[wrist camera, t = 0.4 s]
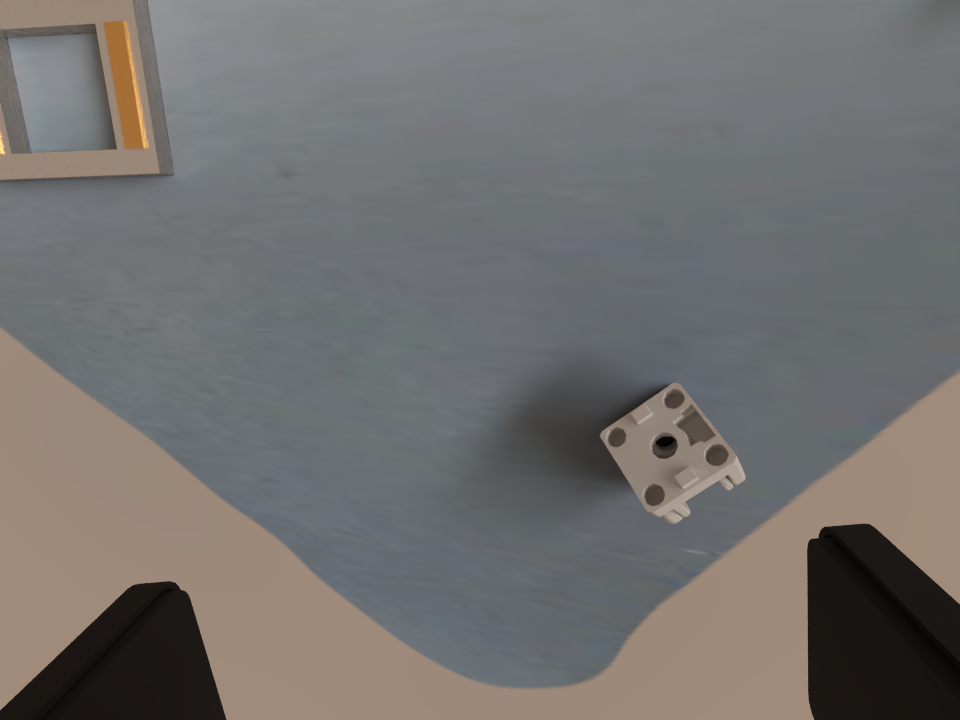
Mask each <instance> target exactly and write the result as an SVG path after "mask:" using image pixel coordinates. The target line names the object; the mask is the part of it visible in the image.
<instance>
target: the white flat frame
mask: <svg viewBox="0 0 960 720" xmlns="http://www.w3.org/2000/svg"><path fill="white" fill-rule="evenodd" d="M93 32H97V37H98V42H99V48H100V54H101V60H102V65H103V71H104V77H105V83H106V88H107V94H108V100H109V105H110V111H111V117H112V123H113V128H114V134H115V140H116V146H117V149H116V150H93V151H70V152H47V153H30V148H29V143H28V139H27V134H26V129H25V124H24V120H23V115H22V110H21V105H20V100H19V96H18V91H17V86H16V81H15V77H14V72H13V67H12V62H11V57H10V53H9V48H8V43H7V38H11V37H27V36H44V35H60V34H77V33H93ZM157 175H174V173H173V166H172V160H171V153H170V147H169V140H168V133H167V127H166V120H165V114H164V107H163V101H162V94H161V88H160V81H159V75H158V68H157V62H156V55H155V49H154V42H153V36H152V29H151V23H150V16H149V10H148V3H147V0H0V182H5V181H30V180H56V179H81V178H106V177H132V176H157Z"/></svg>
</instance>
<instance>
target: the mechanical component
mask: <svg viewBox="0 0 960 720" xmlns="http://www.w3.org/2000/svg"><path fill="white" fill-rule="evenodd" d="M664 436H671V437H673V438H675V440H674V441H673V443H672V444H671V445H669V446H667V447H662V446H658V445H657V444H656V441H657V440H658V439H659V438H661V437H664ZM600 437H601V439H602V440H603V442H604V444H605V445H606V447H607V448H608V450H609V452H610V453H611V455H612V456H613V458H614V460H615V461H616V463H617V464H618V466H619V467H620V469H621V471H622V472H623V474H624V475H625V477H626V479H627V480H628V482H629V483H630V485H631V487H632V488H633V490H634V491H635V493H636V495H637V496H638V498H639V499H640V501H641V502H642V504H643V506H644V507H645V509H646V510H647V511H648V512H650V513H652V514H654V515H655V516H659V517H661V516H663V517H664V518H665V520H667V521H668V522H669V523H672V524H674V523H677V522H679V521H680V520H682V516H683V517H687V516H688V515H690V509H689V507H688V505H687V504H686V502H685V501H687V500H688V499H690V498H691V497H693V496H695V495H696V494H698V493H699V492H701V491H703V490H704V489H706V488H708V487H709V486H711V485H712V484H714V483H716V482H717V481H719V482H720V483H721V485H722V486H723V487H724V489H725V490H731V489H732V488H733V484H734V485H738V484H740V483H741V482H743V481H744V480H745V474H744V471H743V469H742V467H741V465H740V463H739V461H738V458H737V456H736V455H735V453H734V452H733V451H732V450H731V448H730V447H729V446H728V444H727V443H726V442H725V441H724V439H723V438H722V437H721V436H720V434H719V433H718V432H717V430H716V429H715V428H714V427H713V425H712V424H711V423H710V421H709V420H708V419H707V418H706V416H705V415H704V414H703V413H702V411H701V410H700V409H699V407H698V406H697V405H696V404H695V402H694V401H693V400H692V399H691V397H690V396H689V395H688V393H687V392H686V391H685V390H684V388H683V387H682V386H681V385H680V383H672V384H671V385H670V386H668V387H667V388H665V389H664V390H662V391H661V392H659V393H658V394H656V395H655V396H653V397H652V398H650V399H649V400H647V401H646V402H644V403H643V404H641V405H640V406H638V407H637V408H636V409H634V410H633V411H631V412H630V413H628V414H627V415H625V416H624V417H622V418H621V419H619V420H618V421H616V422H615V423H613V424H612V425H610V426H609V427H607V428H606V429H604V430H603V431H602V432H601V434H600ZM731 482H732V483H733V484H732V483H731Z"/></svg>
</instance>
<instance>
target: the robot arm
mask: <svg viewBox="0 0 960 720" xmlns="http://www.w3.org/2000/svg"><path fill="white" fill-rule="evenodd" d="M807 562H808V565H807V566H808V694H809V703H810V708H811V711H812V715H813V717H814V720H960V604H959V603H957V602H956V601H955V600H954V599H953V598H952V597H951V596H950V595H948V593H946V592H945V591H944V590H943V589H942V588H941V587H940V586H939V585H938V584H936V583H935V582H934V581H933V580H932V579H931V578H930V577H929V576H928V575H926V574H925V573H924V572H923V571H922V570H921V569H920V568H919V567H918V566H916V565H915V564H914V563H913V562H912V561H911V560H910V559H909V558H908V557H906V555H904V554H903V553H902V552H901V551H900V550H899V549H898V548H897V547H896V546H894V545H893V544H892V543H891V542H890V541H889V540H888V539H887V538H886V537H884V536H883V535H882V534H881V533H880V532H879V531H878V530H877V529H875V528H874V527H873V526H871V525H870V524H855V525H843V526H831V527H824V528H822V529H821V531H820V534H819V538H817V539H811V540H810V541H809V543H808V549H807ZM0 720H226V717H225V714H224V710H223V707H222V704H221V700H220V697H219V694H218V691H217V687H216V684H215V680H214V677H213V674H212V670H211V667H210V664H209V661H208V657H207V654H206V650H205V647H204V644H203V640H202V637H201V634H200V630H199V627H198V624H197V621H196V617H195V614H194V610H193V607H192V603H191V600H190V598H189V595H188V594H187V593H186V592H185V591H183V590H180V588H179V586H178V585H177V584H176V583H173V582H170V581H168V582H156V583H144V584H137V585H133V586H131V587H130V588H128V589H127V590H126V591H125V592H124V593H123V594H122V595H121V596H120V597H119V598H118V599H117V600H116V601H115V602H114V603H112V604H111V605H110V606H109V607H108V608H107V609H106V610H105V611H104V612H103V613H102V614H101V615H100V616H99V617H98V618H97V619H96V620H95V621H94V622H93V623H91V624H90V625H89V626H88V627H87V628H86V629H85V630H84V631H83V632H82V633H81V634H80V635H79V636H78V637H77V638H76V639H75V640H74V641H73V642H72V643H70V645H69V646H67V647H66V648H65V649H64V650H63V651H62V652H61V653H60V654H59V655H58V656H57V657H56V658H55V659H54V660H53V661H52V662H51V663H50V664H48V666H47V667H45V668H44V670H42V671H41V672H40V673H39V674H38V675H37V676H36V677H35V678H34V679H33V680H32V681H31V682H30V683H29V684H28V685H27V686H25V687H24V688H23V689H22V690H21V691H20V692H19V693H18V694H17V695H16V696H15V697H14V698H13V699H12V700H11V701H10V702H9V703H8V704H7V705H6V706H5V707H3V708H2V709H1V710H0Z"/></svg>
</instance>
